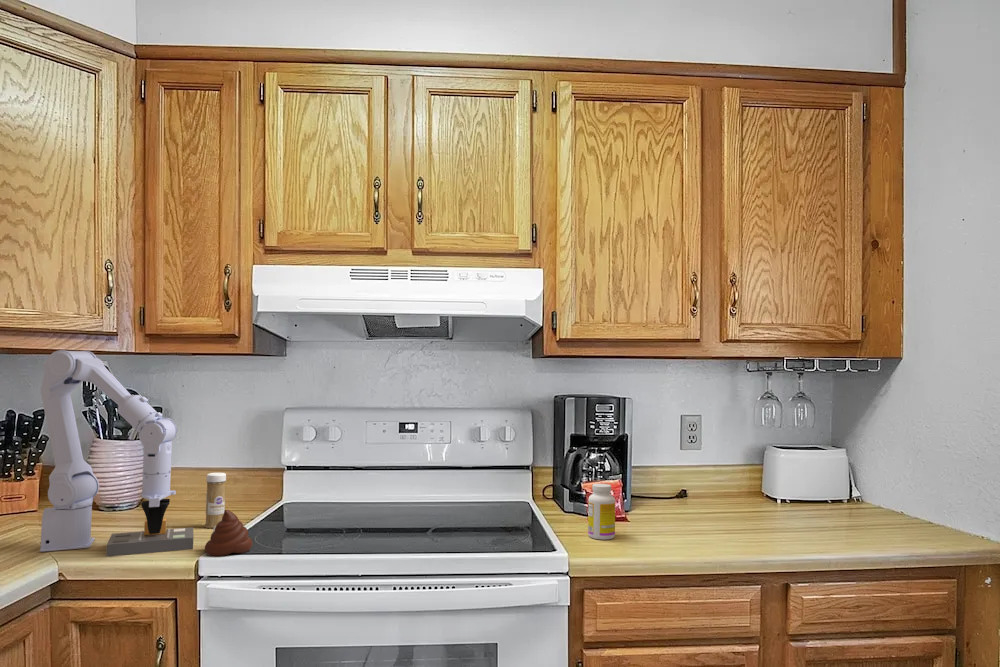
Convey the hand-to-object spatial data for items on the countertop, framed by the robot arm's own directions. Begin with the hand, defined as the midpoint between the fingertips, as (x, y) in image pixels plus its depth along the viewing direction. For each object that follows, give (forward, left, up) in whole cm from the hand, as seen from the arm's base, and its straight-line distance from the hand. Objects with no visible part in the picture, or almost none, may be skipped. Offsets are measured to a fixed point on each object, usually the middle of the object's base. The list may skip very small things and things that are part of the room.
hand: (154, 533), depth 155 cm
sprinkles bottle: (+13, +16, -3) cm, 21 cm away
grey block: (0, +1, -3) cm, 3 cm away
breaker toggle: (0, +3, -1) cm, 3 cm away
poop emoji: (+15, -9, -3) cm, 18 cm away
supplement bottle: (+101, -27, -3) cm, 105 cm away
